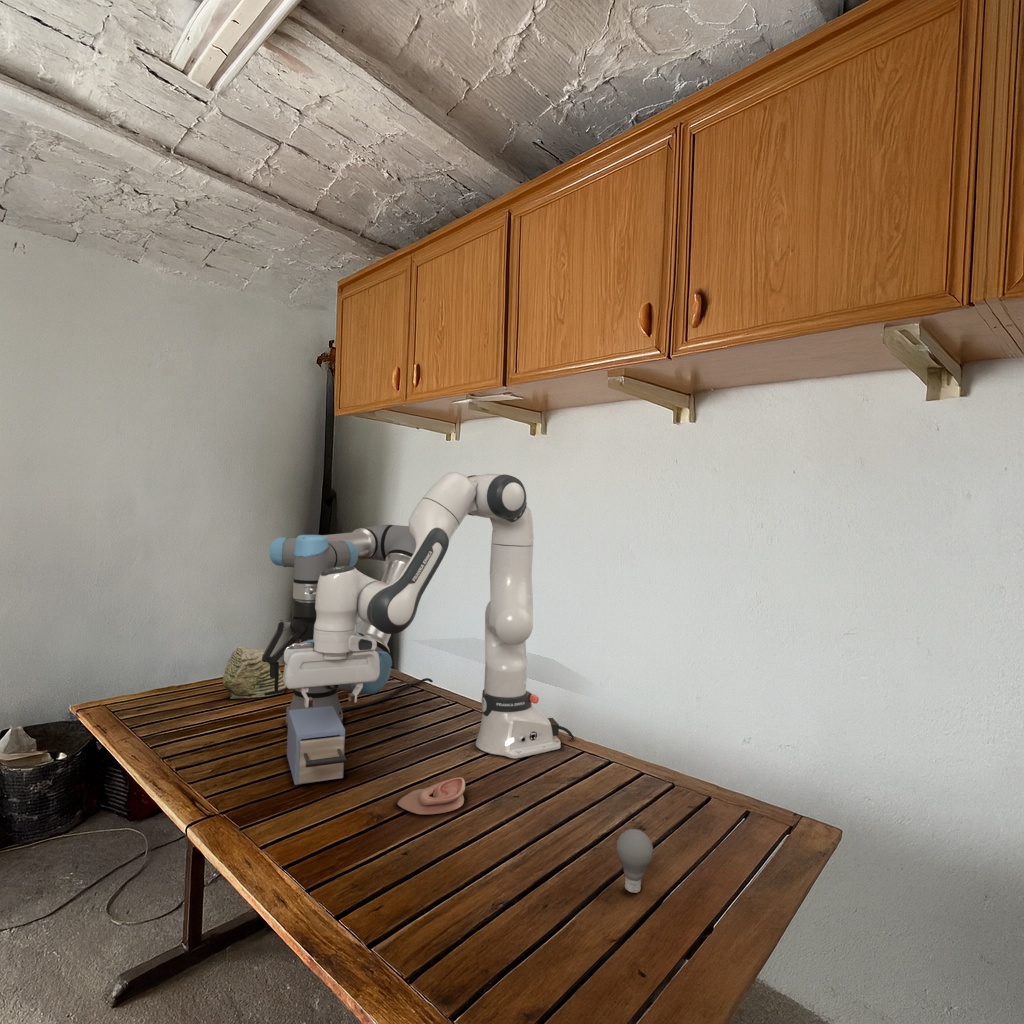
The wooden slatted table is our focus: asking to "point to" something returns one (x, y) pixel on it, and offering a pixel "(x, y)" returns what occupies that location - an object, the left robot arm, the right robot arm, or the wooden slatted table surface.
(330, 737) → the drawer
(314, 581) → the left robot arm
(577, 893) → the wooden slatted table surface
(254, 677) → the fossil
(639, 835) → the light bulb
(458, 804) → the anatomical model
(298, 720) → the cabinet
